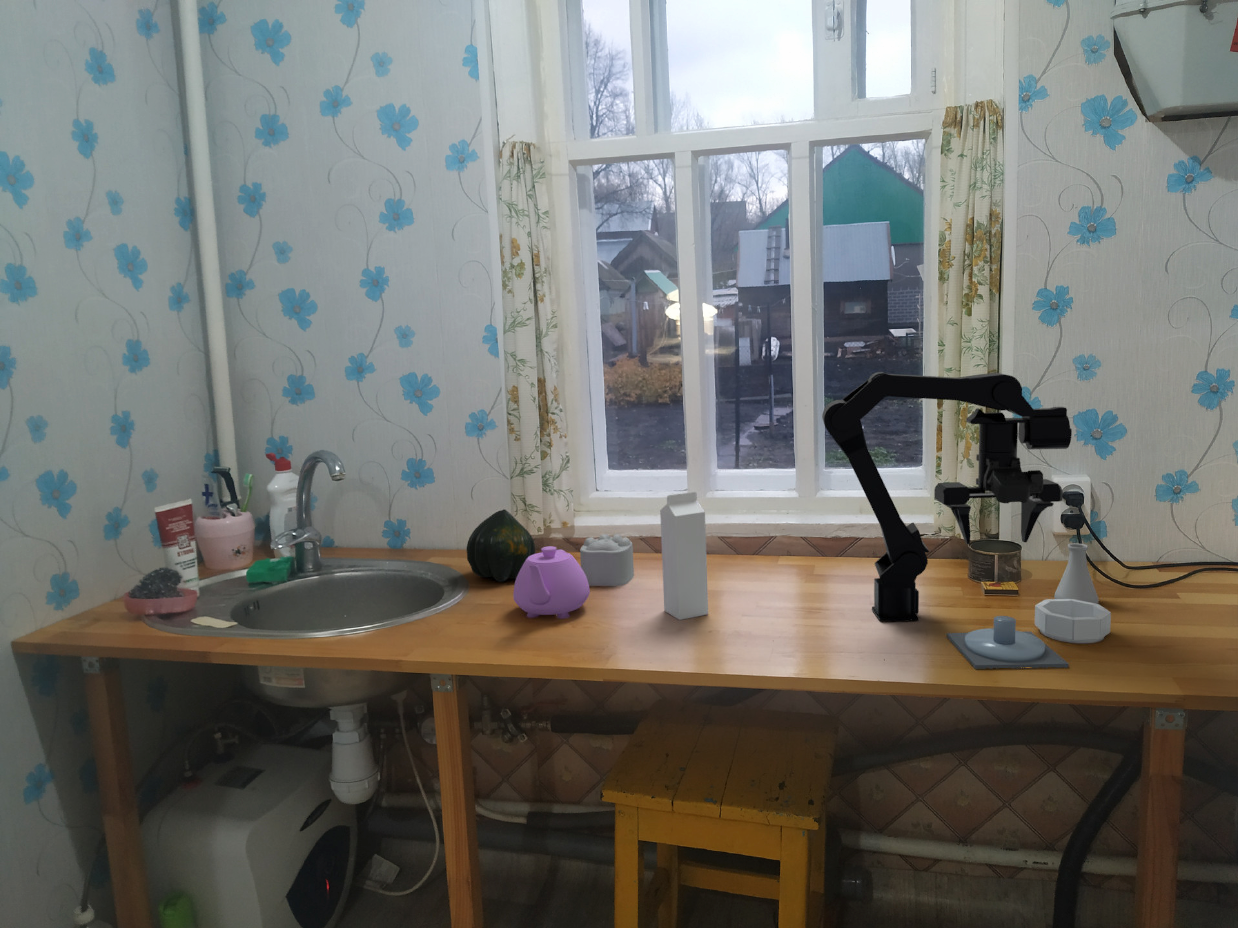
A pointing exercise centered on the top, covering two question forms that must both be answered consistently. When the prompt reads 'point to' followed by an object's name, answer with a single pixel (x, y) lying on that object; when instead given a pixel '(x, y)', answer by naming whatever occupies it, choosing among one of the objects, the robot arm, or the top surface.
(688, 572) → the milk
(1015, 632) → the lid
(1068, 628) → the bowl
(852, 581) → the top surface
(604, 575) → the grey lumpy-topped tub
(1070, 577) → the flask
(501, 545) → the squash
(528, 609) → the teapot
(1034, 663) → the plate
